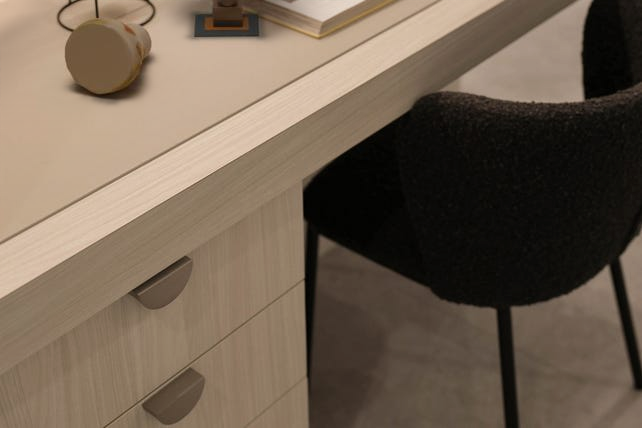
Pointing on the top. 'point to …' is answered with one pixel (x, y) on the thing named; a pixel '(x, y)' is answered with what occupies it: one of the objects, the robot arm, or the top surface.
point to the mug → (106, 54)
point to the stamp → (227, 13)
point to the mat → (208, 30)
